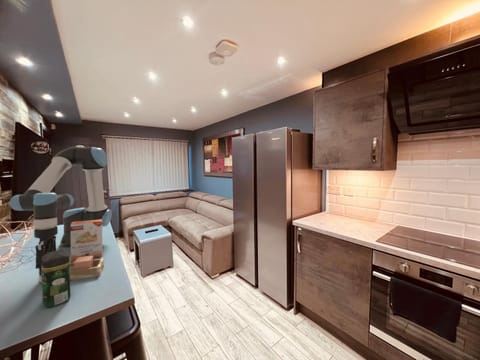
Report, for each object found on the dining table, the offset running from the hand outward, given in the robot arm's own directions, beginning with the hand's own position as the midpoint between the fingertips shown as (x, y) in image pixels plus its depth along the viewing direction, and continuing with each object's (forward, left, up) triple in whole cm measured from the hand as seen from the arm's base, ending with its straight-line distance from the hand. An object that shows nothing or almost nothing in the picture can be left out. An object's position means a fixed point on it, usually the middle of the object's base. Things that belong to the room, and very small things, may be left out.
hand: (47, 277), depth 90 cm
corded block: (0, +7, -1) cm, 7 cm away
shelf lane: (0, +12, -1) cm, 13 cm away
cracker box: (-20, +10, -1) cm, 23 cm away
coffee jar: (+20, +10, -1) cm, 22 cm away
